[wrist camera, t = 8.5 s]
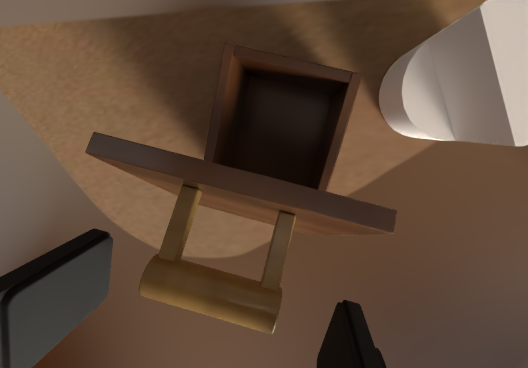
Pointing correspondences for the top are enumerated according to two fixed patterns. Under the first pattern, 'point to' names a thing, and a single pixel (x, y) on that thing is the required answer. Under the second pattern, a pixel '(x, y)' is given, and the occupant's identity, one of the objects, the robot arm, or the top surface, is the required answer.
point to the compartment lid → (239, 203)
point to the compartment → (280, 116)
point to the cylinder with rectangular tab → (465, 80)
